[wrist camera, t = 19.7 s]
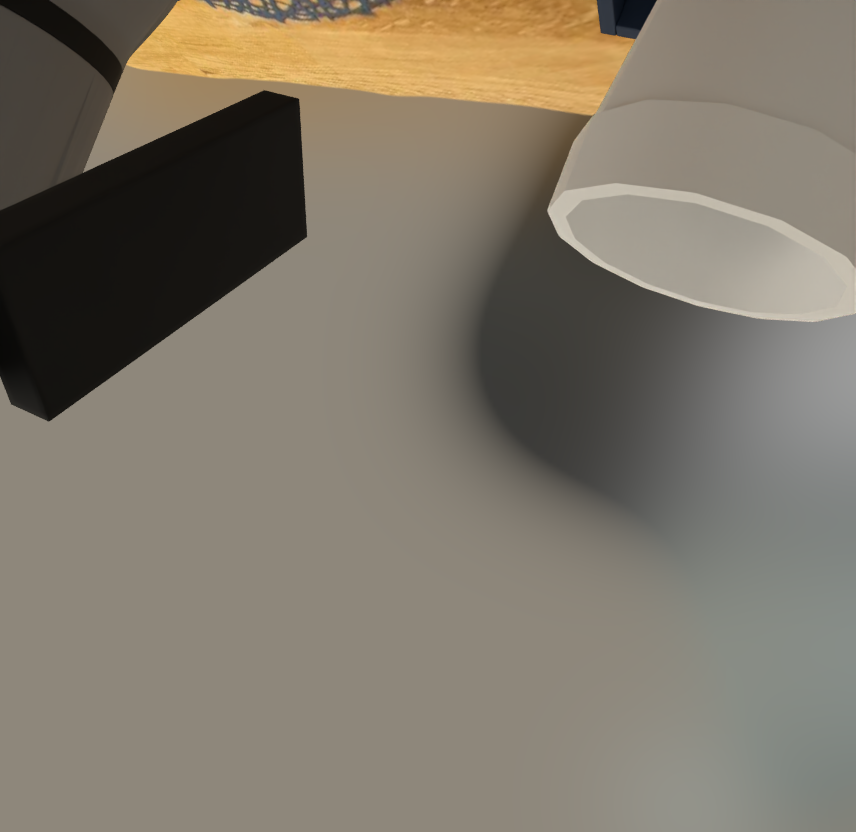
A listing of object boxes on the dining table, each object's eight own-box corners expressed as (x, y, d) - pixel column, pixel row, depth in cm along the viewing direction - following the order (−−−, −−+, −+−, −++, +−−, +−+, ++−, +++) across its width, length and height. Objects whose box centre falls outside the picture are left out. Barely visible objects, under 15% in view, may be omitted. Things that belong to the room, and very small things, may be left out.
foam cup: (879, 7, 29) (756, 334, 28) (651, -96, 28) (523, 237, 28) (1133, -197, 19) (953, 292, 19) (797, -359, 18) (603, 145, 18)
